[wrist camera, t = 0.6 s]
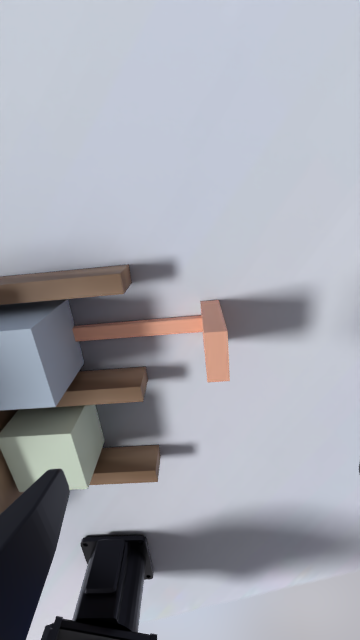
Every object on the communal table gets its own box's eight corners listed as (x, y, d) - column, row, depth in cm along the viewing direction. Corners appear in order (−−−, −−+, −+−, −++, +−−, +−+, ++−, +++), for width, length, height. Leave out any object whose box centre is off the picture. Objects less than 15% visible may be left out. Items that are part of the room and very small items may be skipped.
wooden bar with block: (221, 352, 21) (230, 396, 16) (19, 367, 22) (-26, 412, 17) (217, 285, 19) (226, 312, 14) (-3, 304, 20) (-61, 336, 15)
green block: (105, 440, 25) (87, 489, 20) (47, 443, 25) (19, 491, 21) (92, 390, 23) (70, 433, 19) (30, 395, 23) (-5, 438, 19)
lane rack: (160, 455, 25) (152, 529, 19) (34, 462, 26) (-9, 534, 20) (128, 264, 19) (103, 291, 13) (-37, 280, 19) (-127, 312, 14)
